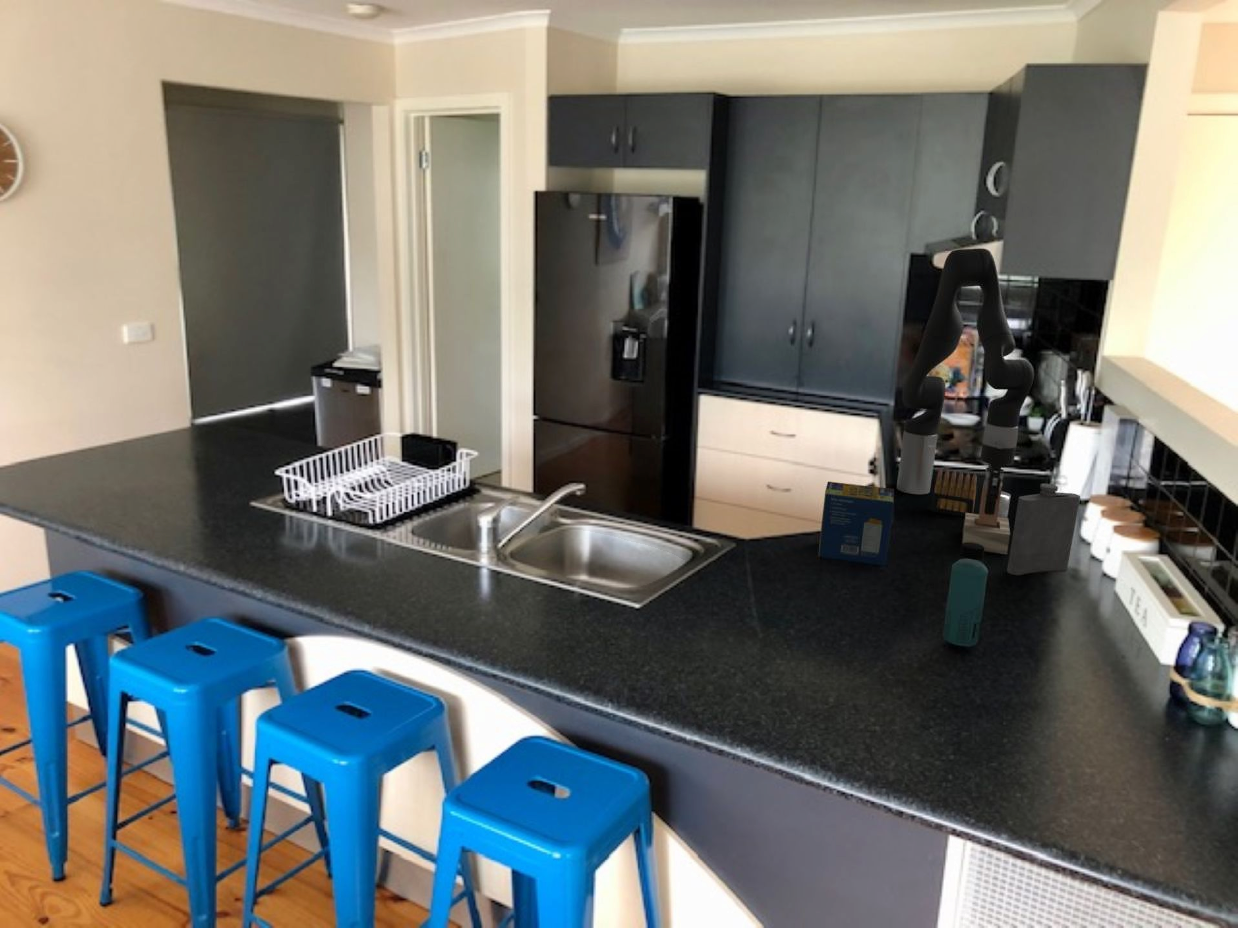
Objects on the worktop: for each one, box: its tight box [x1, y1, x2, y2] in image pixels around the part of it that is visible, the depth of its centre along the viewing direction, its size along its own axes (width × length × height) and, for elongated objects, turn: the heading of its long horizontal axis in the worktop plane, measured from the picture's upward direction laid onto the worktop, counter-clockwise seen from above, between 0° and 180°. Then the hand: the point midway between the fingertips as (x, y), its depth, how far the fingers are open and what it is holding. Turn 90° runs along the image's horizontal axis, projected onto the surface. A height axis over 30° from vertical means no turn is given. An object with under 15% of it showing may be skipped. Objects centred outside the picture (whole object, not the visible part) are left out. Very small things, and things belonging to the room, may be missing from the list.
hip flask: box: [1006, 483, 1081, 576], centre depth 214 cm, size 16×4×20 cm, turn 109°
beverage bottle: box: [942, 542, 989, 647], centre depth 174 cm, size 6×7×20 cm
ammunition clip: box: [930, 467, 977, 518], centre depth 253 cm, size 11×2×12 cm, turn 61°
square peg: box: [978, 478, 1003, 526], centre depth 231 cm, size 4×4×10 cm
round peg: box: [997, 490, 1012, 519], centre depth 244 cm, size 6×6×9 cm
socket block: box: [962, 513, 1011, 555], centre depth 233 cm, size 13×10×5 cm
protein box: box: [818, 481, 895, 567], centre depth 220 cm, size 10×15×16 cm
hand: (988, 511), depth 231 cm, fingers closed on square peg, 4 cm apart
